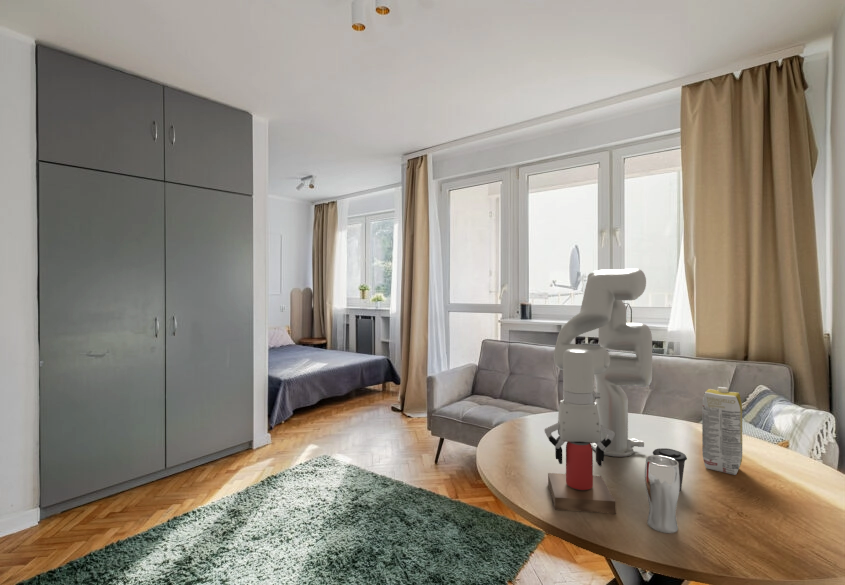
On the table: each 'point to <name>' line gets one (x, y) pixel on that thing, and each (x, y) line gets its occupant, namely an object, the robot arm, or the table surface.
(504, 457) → the table surface
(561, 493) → the walnut base
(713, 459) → the juice carton
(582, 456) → the beer can
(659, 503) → the beer glass
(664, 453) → the coffee cup
